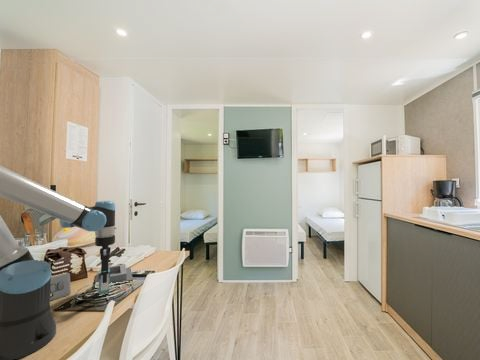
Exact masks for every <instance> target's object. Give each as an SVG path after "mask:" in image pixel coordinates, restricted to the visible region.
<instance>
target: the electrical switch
mask: <svg viewBox="0 0 480 360" xmlns="http://www.w3.org/2000/svg"><path fill="white" fill-rule="evenodd" d="M71 288H72V287H71V274H70V273H69V272H65V273H60V274H58V275H53V276H51V282H50V302H51V301H54V300H58V299H60V298H63V297H66V296H67V297H68V296H70V295H71V293H72V292H71V291H72V289H71Z"/></svg>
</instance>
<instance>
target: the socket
mask: <svg viewBox="0 0 480 360" xmlns="http://www.w3.org/2000/svg"><path fill="white" fill-rule="evenodd" d="M109 269H110V283H111V282H112V283H116V282H123V281H133V282H134V279H133V278H134V277H133V273H132V269H131V267H126V264H125V263H123V264H117V265H111V266H110V265H109ZM96 282H99V272H97V273H96V277H95V281H94V284H95V283H96Z"/></svg>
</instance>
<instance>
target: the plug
mask: <svg viewBox="0 0 480 360" xmlns="http://www.w3.org/2000/svg"><path fill="white" fill-rule="evenodd" d="M104 272H106V271H104ZM108 272H109V284H110V269H108ZM98 273H99V274H101V269H100V270H99V271H98ZM97 291H98V294H102V293H107V292H109V293H110V288H109V289H108V290H103V291H101V276H99V288H98V290H97Z"/></svg>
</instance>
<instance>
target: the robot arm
mask: <svg viewBox="0 0 480 360" xmlns="http://www.w3.org/2000/svg"><path fill="white" fill-rule="evenodd" d="M0 197H1V198H3V199H6V200H8V201H11V202H14V203H16V204H19V205H22V206H24V207H27V208H29V209H32V210H34V211H36V212H39V213H41V214H44V215H47V216H49V217H52V218H55V219H58V220H59V224H60V227H61V228H64V229H68V228H70V229H72V228H79V229H82V230H85V231H86V232H94V235H95V237H94V239H95V240H94V245H95V247H101V248H99V255H100V260H101V261H100V263H101V264H100V267H101V268H100V270H101V274H99V276H101V291H103V290H108V289H109V290H110V286H109V272H108V269H109V266H110V263H111V259H110V258H111V257H110V256H111V246H113V245H114V244H115V243H116V235H115V233H116V230H117V227H116V203H115V201H114V200H113V201H112V200H98V201H96V202H95V204H94V205H93V206H87V205H84V204H83V203H81V202H79V201H76V200H74V199H72V198H71V197H68V196H66V195H64V194H62V193H60V192H57V191H55V190H53V189H51V188H49V187H46V186H45V185H43V184H40V183H39V182H36V181H34V180H32V179H30V178H27V177H26V176H24V175H22V174H20V173H17V172H15V171H13V170H11V169H9V168H7V167H5V166H3V165H0ZM2 217H3V216H2V215H1V214H0V360H14V359H16V360H19V359H21V358H24V357H26V356H28V355H31V354H32V353H35V352H36V351H38V350H40V349H42V348H43V347H45V346H46V345H47V344H48V343H50V342H51V341H52V340H53V339H54V338H55V336H56V334H57V324H56V323H57V322H56V321H55V319H54V317H53V315H52V312H51V310H50V309H51V301H50V297H51V294H50V282H51V277H52V269H51V264H50V263H49V262H47V261H46V260H38V259H35V258H34V257H33V255H32V253H31V252H30V250H29V249H28V248H27V247H22V246H20V245H19V244H18V242H17V240H16V239H15V236H14V235H13V234H12V232H11V230H10V229H9V227H8V225H7V224H6V222H5V221H4V219H3V218H2ZM104 271H106V272H104ZM18 358H19V359H18Z"/></svg>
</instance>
